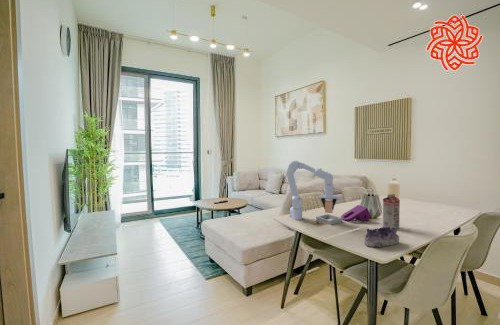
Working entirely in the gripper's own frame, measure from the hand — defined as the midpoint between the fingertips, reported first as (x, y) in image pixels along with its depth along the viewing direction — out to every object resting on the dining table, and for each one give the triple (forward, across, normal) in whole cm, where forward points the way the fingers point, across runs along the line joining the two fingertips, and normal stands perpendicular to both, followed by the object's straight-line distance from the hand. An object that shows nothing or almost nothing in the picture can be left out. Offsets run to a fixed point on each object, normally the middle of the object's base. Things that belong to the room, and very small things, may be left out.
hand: (328, 209), depth 168 cm
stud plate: (+9, +7, +8) cm, 14 cm away
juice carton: (+10, -39, 0) cm, 40 cm away
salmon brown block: (+2, 0, 0) cm, 2 cm away
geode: (+10, -28, +31) cm, 43 cm away
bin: (+9, 0, 0) cm, 9 cm away
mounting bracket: (+10, -17, -10) cm, 22 cm away
